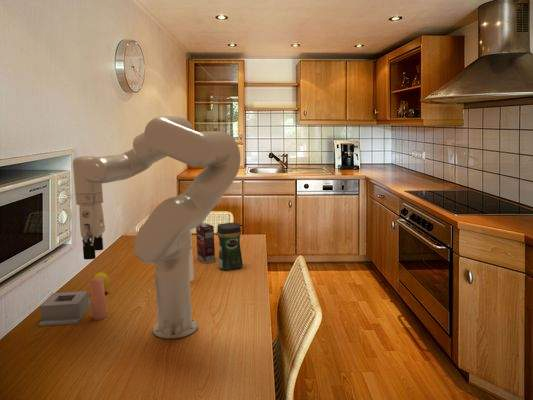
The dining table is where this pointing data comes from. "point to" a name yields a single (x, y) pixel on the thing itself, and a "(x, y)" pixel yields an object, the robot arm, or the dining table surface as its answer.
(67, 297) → the socket
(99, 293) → the peg
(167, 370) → the dining table surface
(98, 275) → the lemon
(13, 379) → the dining table surface
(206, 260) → the supplement box
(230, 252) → the coffee jar
